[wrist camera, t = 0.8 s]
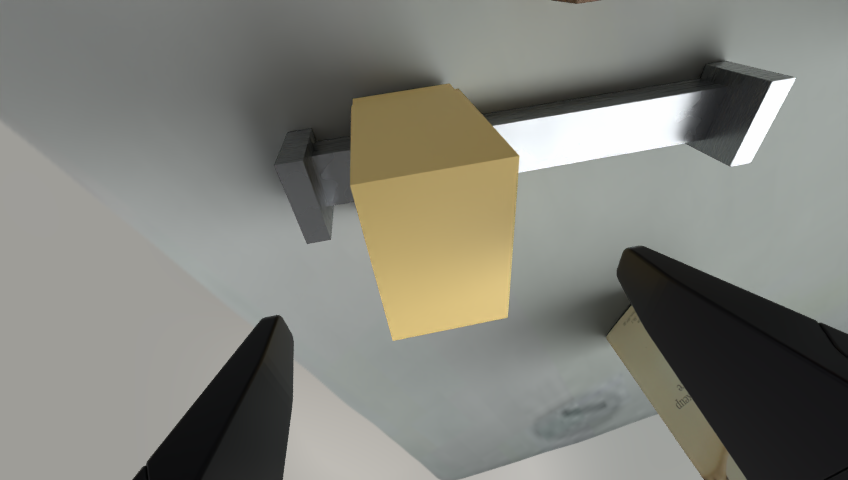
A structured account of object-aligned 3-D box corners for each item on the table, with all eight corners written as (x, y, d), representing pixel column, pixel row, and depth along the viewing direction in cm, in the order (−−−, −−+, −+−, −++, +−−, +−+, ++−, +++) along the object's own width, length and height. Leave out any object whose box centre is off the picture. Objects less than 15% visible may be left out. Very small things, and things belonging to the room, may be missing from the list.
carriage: (449, 78, 14) (519, 156, 8) (456, 202, 18) (507, 317, 12) (351, 93, 14) (350, 185, 8) (379, 216, 17) (392, 340, 12)
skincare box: (643, 285, 25) (816, 473, 16) (691, 286, 26) (881, 462, 17) (602, 338, 29) (724, 517, 19) (646, 337, 30) (781, 505, 20)
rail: (725, 60, 16) (796, 77, 13) (695, 136, 18) (750, 162, 15) (287, 132, 15) (274, 165, 12) (313, 203, 17) (306, 243, 14)
